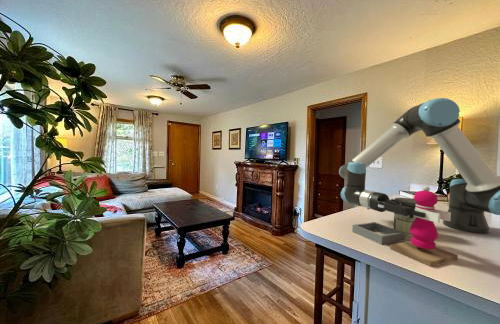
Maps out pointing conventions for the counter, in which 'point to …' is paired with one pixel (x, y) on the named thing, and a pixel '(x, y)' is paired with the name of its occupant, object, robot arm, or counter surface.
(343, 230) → the counter surface
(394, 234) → the holder
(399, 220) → the coffee can
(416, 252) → the board
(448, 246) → the counter surface
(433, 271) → the counter surface
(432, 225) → the pepper mill
